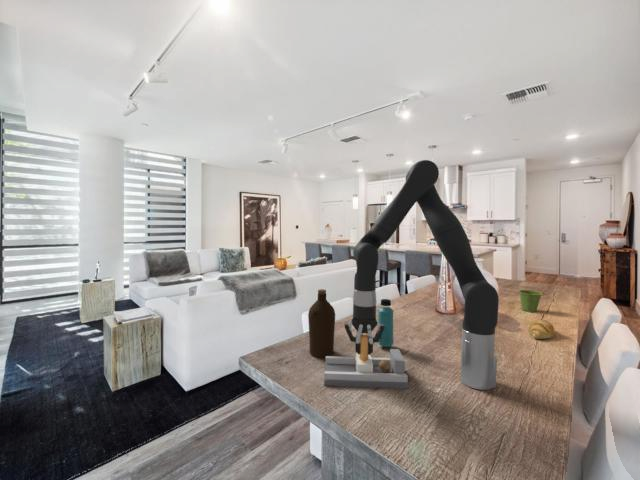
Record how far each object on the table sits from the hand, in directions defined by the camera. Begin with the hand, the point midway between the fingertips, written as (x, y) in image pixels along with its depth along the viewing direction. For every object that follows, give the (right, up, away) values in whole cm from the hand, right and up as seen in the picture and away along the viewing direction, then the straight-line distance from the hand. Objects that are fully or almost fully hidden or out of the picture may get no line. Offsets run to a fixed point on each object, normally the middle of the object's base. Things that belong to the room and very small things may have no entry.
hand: (363, 353), depth 99 cm
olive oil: (-14, -7, +18) cm, 24 cm away
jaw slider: (0, -6, 0) cm, 6 cm away
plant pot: (+111, -5, +78) cm, 135 cm away
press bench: (0, -8, 0) cm, 8 cm away
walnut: (+7, -6, 0) cm, 9 cm away
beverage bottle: (+12, -7, +24) cm, 28 cm away
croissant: (+89, -7, +40) cm, 97 cm away
